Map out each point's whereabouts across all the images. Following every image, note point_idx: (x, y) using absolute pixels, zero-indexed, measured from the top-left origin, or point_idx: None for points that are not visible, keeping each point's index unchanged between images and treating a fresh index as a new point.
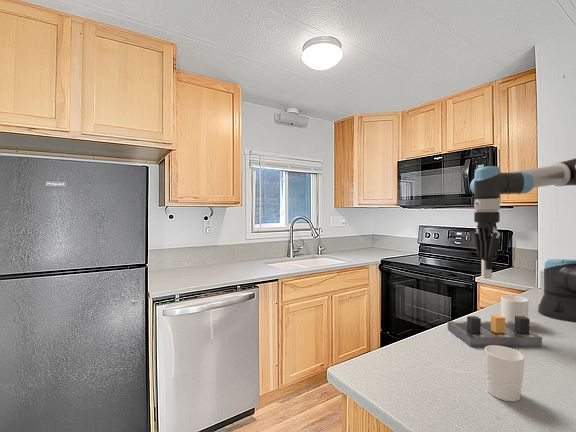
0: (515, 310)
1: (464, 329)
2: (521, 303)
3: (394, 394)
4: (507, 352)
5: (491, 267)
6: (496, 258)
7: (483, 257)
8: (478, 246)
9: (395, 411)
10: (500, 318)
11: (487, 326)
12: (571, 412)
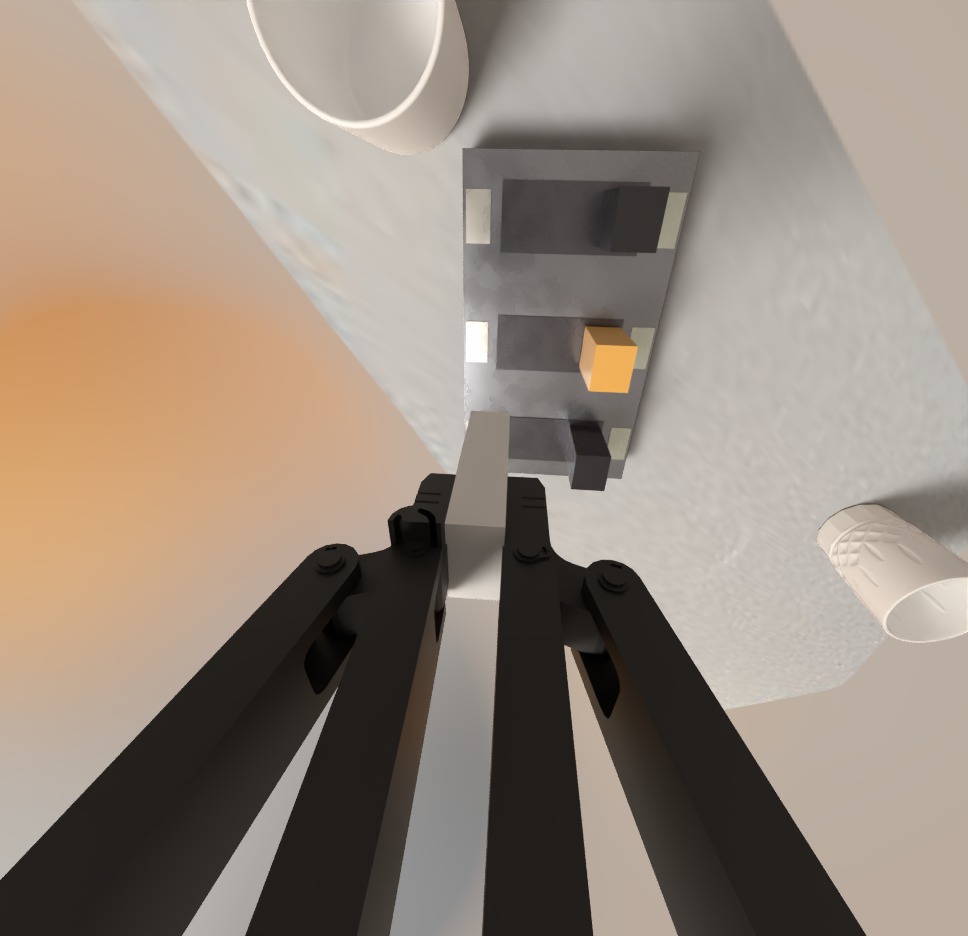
0: (444, 90)
1: (553, 459)
2: (447, 18)
3: (758, 678)
4: (916, 576)
5: (544, 498)
6: (632, 575)
7: (444, 601)
8: (282, 756)
9: (799, 689)
10: (631, 370)
11: (531, 348)
12: None
